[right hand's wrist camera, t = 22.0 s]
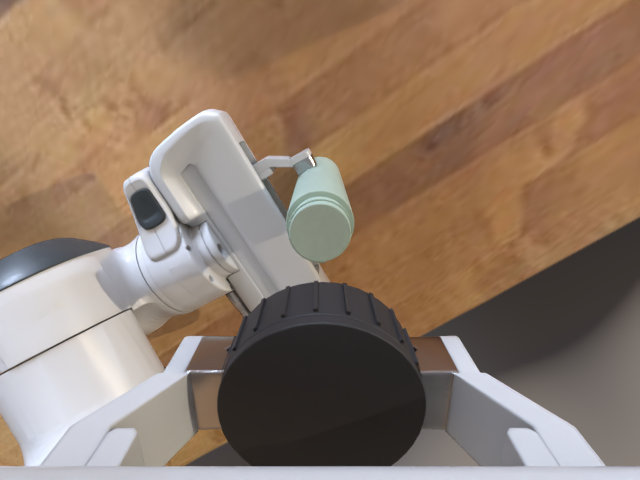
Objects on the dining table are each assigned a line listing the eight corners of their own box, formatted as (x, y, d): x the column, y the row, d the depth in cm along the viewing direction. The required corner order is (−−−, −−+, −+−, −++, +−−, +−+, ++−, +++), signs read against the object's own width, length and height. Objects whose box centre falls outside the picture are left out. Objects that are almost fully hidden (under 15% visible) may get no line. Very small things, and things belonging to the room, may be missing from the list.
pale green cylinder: (297, 157, 37) (280, 198, 20) (339, 155, 37) (356, 195, 20) (300, 198, 38) (285, 268, 22) (340, 197, 38) (357, 266, 21)
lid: (437, 386, 11) (462, 445, 9) (290, 448, 12) (284, 513, 10) (361, 246, 9) (371, 281, 7) (197, 329, 10) (169, 379, 8)
